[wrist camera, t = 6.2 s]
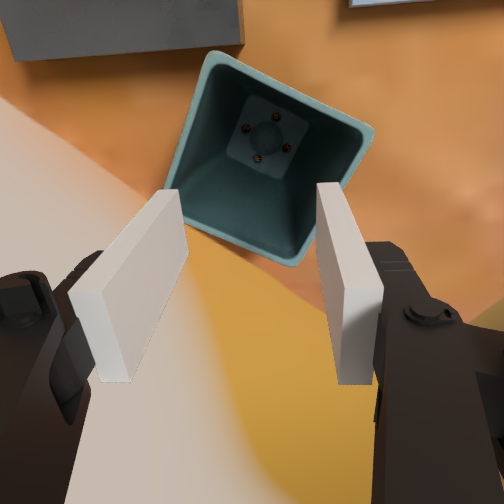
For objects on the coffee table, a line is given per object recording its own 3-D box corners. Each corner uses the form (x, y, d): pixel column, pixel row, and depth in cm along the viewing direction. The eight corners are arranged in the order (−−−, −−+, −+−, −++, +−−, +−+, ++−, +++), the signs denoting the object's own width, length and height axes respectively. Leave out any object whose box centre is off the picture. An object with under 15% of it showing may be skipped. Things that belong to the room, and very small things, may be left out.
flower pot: (189, 167, 28) (153, 212, 20) (232, 46, 24) (208, 44, 16) (292, 212, 29) (296, 271, 22) (349, 105, 25) (380, 130, 17)
